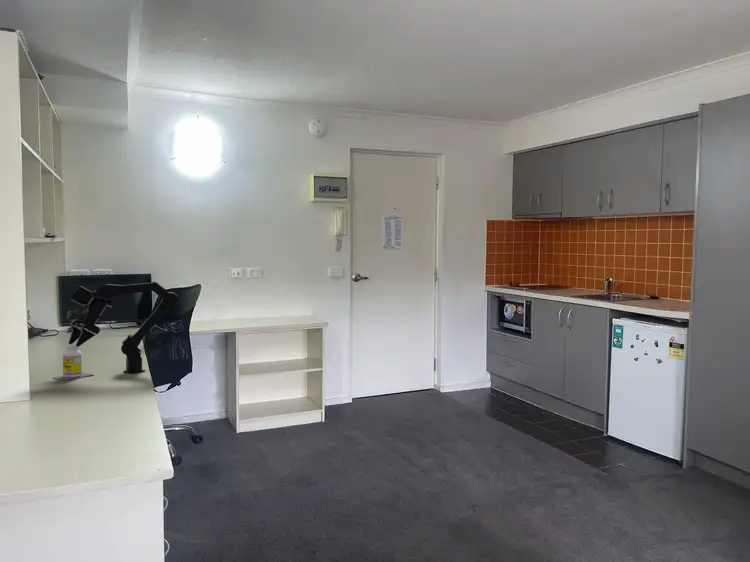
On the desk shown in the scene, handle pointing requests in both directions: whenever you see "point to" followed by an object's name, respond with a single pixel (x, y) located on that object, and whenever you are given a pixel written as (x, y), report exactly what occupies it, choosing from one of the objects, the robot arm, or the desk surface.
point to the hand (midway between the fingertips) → (73, 345)
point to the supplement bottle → (72, 361)
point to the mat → (72, 377)
